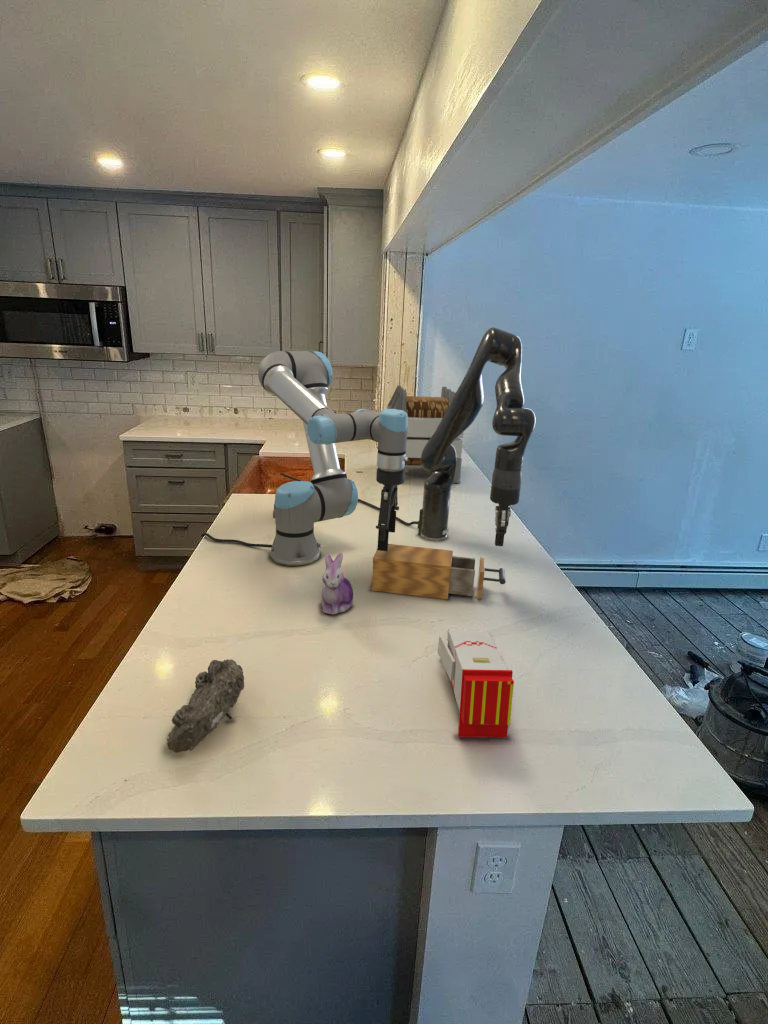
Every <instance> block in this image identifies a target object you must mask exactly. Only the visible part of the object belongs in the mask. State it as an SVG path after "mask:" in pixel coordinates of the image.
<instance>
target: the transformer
mask: <svg viewBox="0 0 768 1024" xmlns="http://www.w3.org/2000/svg"><path fill="white" fill-rule="evenodd" d="M440 393H441V394H440V396H415V395H414V396H413V395H412V396H411V395H407V394H408V393H407V390H406V389H404V388H403V387H402V385H399V384H398V385H397V386H396V388H395V390H394V392H393V394H392V395H391V398H390V400H389V402H388V404H387V405H386V409H397V410H403V411H405V412H406V413H407V414H408V431H407V444H406V455H405V457H407V458H408V460H407V461H405V466H406V467H407V466H411V467H412V466H413V467H415V466H416V467H417V466H418V467H422V465H421V454H422V451H423V449H424V447H425V446H426V444H427V443H428V441H429V440H430V438H431V437H432V435H433V434H434V432H435V431H436V429H437V427H438V426H439V424H440V422H441V420H442V418H443V416H444V415H445V413H446V411H447V409H448V407H449V405H450V403H451V401H452V399H453V397H454V395H455V393H456V392H455V391H453V390H452V389H451V388H447V386H442V387H441V392H440ZM463 438H464V432H463V433H462V434H460V435H459V436H458V437H457V438H456V439H455V440H454V441H453V442H452V445H453V446H454V448H455V450H456V455H457V462H456V470H455V477H454V482H453V484H455V483H456V484H459V483H461V472H462V461H463V460H462V453H463V442H464V441H463V440H462V439H463Z"/></svg>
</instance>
